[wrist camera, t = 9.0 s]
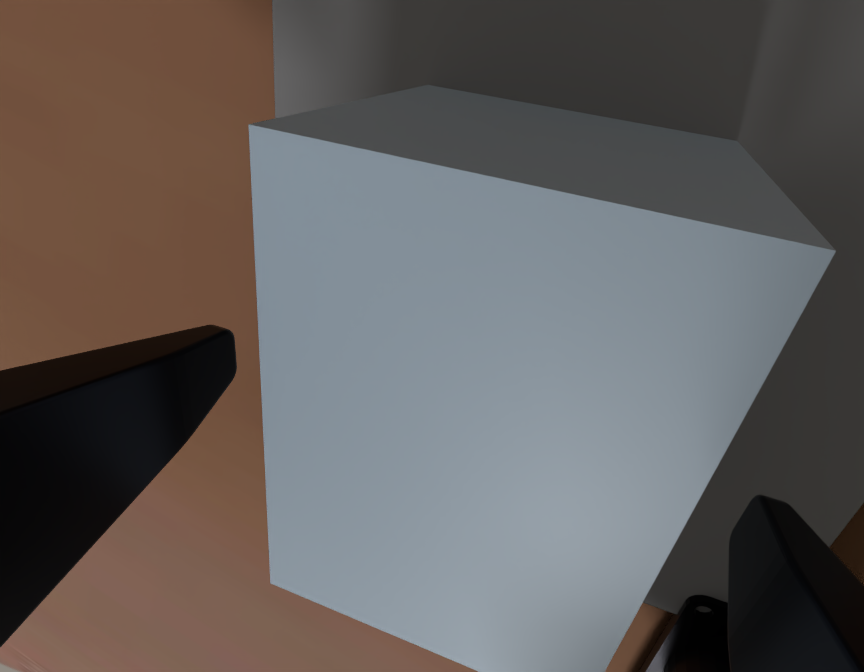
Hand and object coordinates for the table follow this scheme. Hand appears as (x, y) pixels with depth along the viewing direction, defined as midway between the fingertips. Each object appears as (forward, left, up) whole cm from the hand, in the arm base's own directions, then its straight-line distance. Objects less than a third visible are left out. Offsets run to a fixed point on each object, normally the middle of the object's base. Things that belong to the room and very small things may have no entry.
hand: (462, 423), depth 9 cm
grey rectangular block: (0, 0, -5) cm, 5 cm away
